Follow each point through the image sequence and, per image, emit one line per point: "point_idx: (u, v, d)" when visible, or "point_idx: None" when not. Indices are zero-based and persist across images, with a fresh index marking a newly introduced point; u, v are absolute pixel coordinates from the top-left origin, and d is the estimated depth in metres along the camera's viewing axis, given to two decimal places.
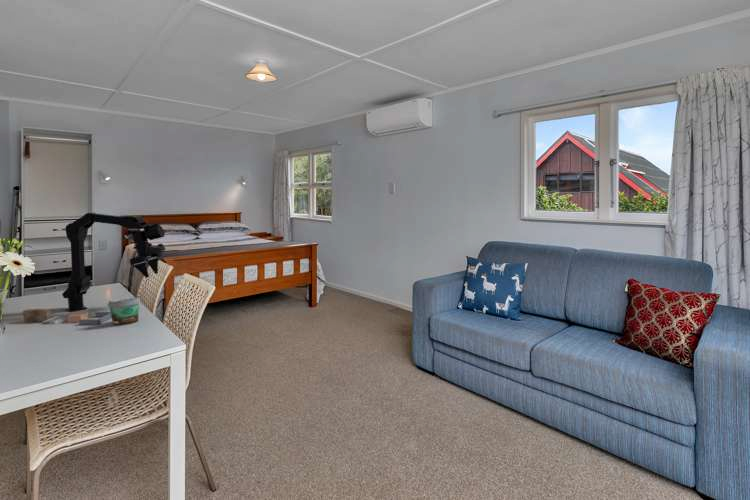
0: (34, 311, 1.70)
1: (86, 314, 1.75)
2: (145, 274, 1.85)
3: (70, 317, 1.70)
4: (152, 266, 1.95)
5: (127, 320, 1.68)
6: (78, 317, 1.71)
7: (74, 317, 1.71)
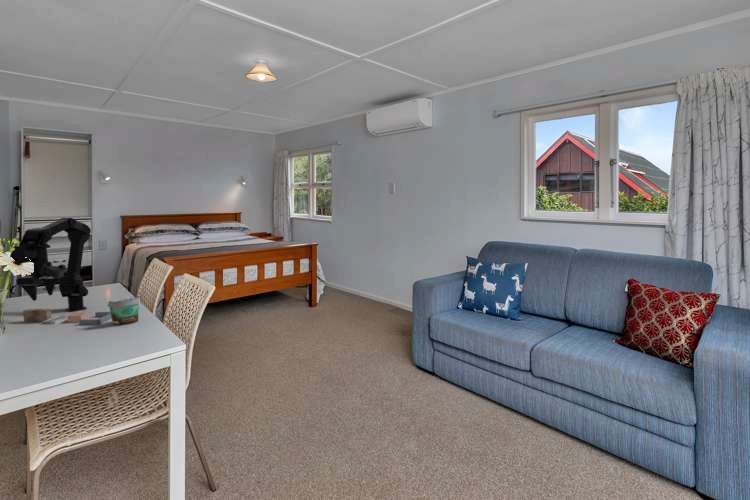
0: (34, 311, 1.70)
1: (86, 314, 1.75)
2: (32, 297, 1.65)
3: (70, 317, 1.70)
4: (47, 286, 1.75)
5: (127, 320, 1.68)
6: (78, 317, 1.71)
7: (74, 317, 1.71)
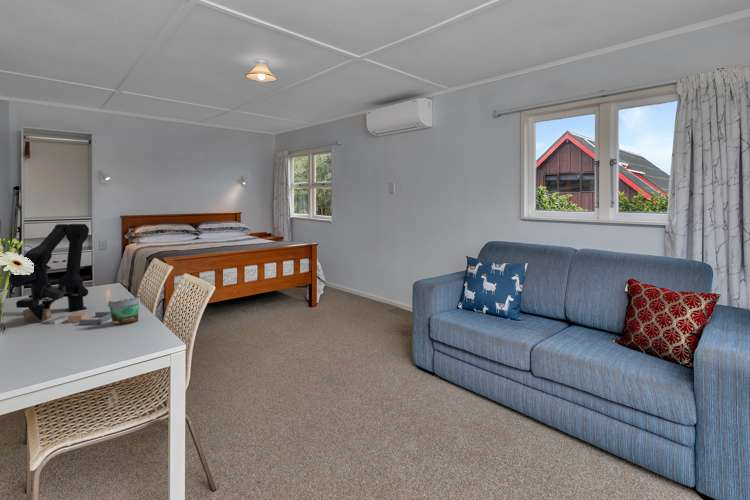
0: None
1: (86, 314, 1.75)
2: (38, 316, 1.70)
3: (70, 317, 1.70)
4: (42, 308, 1.73)
5: (127, 320, 1.68)
6: (79, 317, 1.71)
7: (74, 317, 1.71)
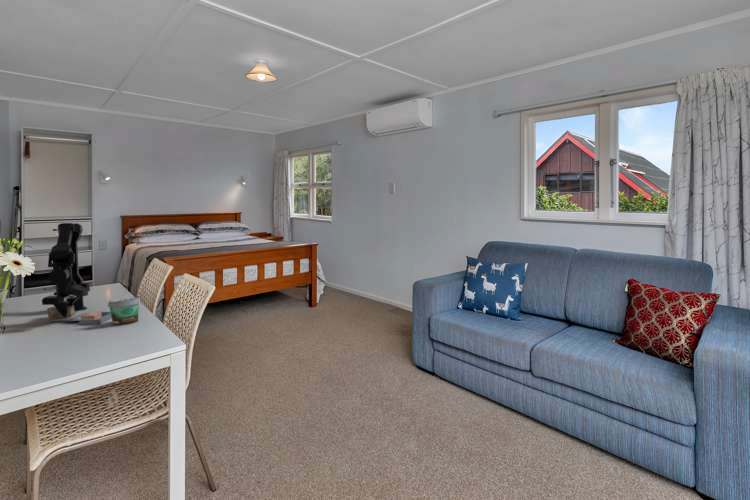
0: None
1: (100, 314, 1.75)
2: (63, 313, 1.70)
3: (84, 317, 1.71)
4: None
5: (127, 320, 1.68)
6: (92, 317, 1.71)
7: (88, 317, 1.71)
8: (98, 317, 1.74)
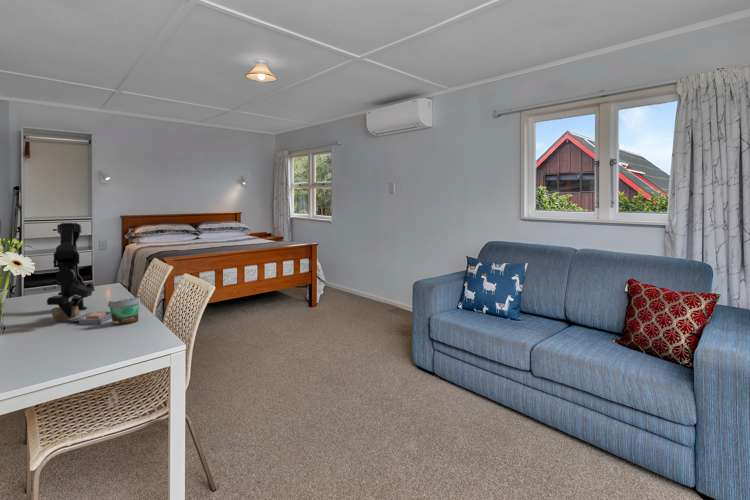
0: None
1: (104, 314, 1.75)
2: (67, 313, 1.71)
3: (88, 317, 1.71)
4: (70, 306, 1.74)
5: (127, 320, 1.68)
6: (96, 317, 1.71)
7: (92, 317, 1.71)
8: None
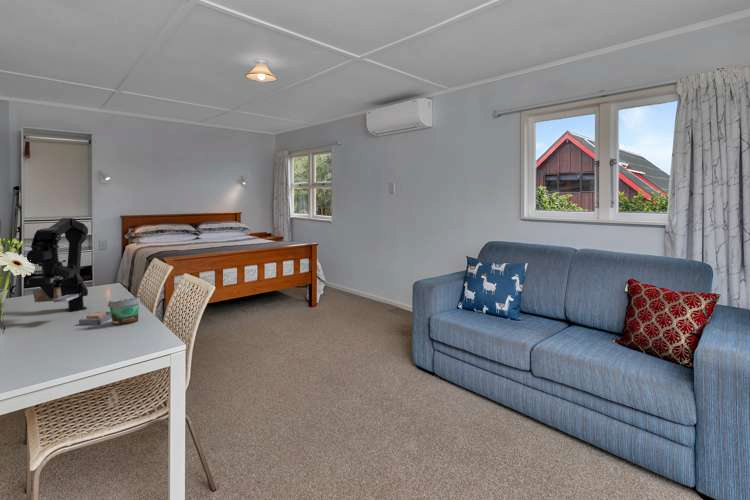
0: None
1: (104, 314, 1.75)
2: (49, 295, 1.69)
3: (88, 317, 1.71)
4: (52, 287, 1.72)
5: (127, 320, 1.68)
6: (96, 317, 1.71)
7: (92, 317, 1.71)
8: None
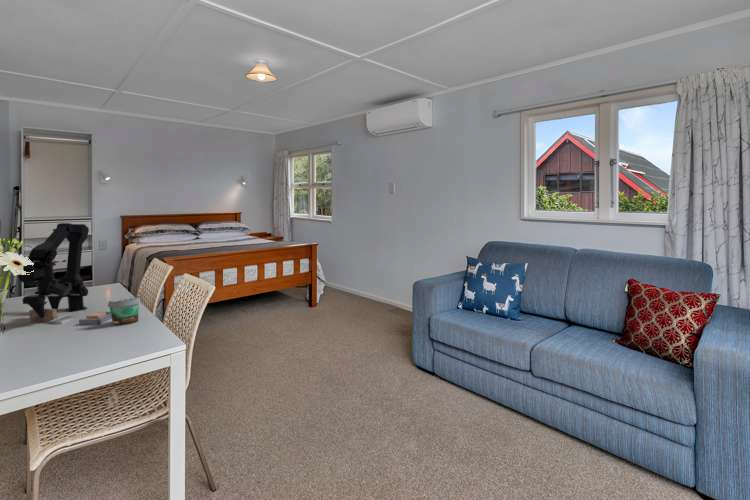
0: None
1: (104, 314, 1.75)
2: (40, 314, 1.68)
3: (88, 317, 1.71)
4: (52, 303, 1.76)
5: (127, 320, 1.68)
6: (96, 317, 1.71)
7: (92, 317, 1.71)
8: None
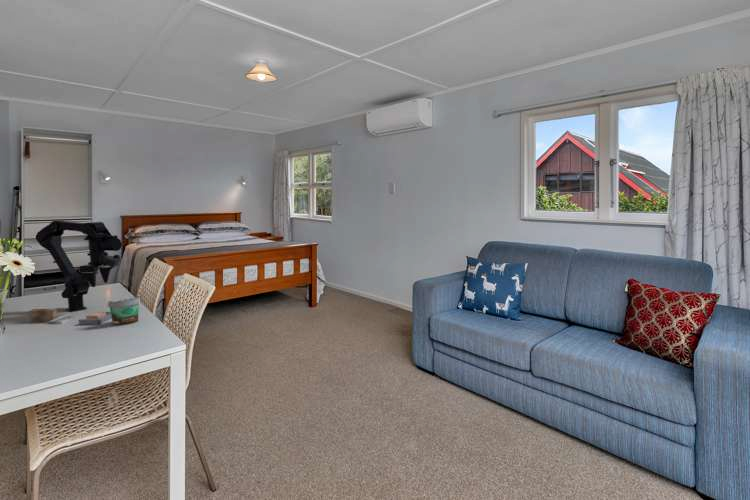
0: (40, 311, 1.71)
1: (104, 314, 1.75)
2: (92, 283, 1.81)
3: (88, 317, 1.71)
4: (103, 274, 1.91)
5: (127, 320, 1.68)
6: (95, 317, 1.71)
7: (92, 317, 1.71)
8: None
